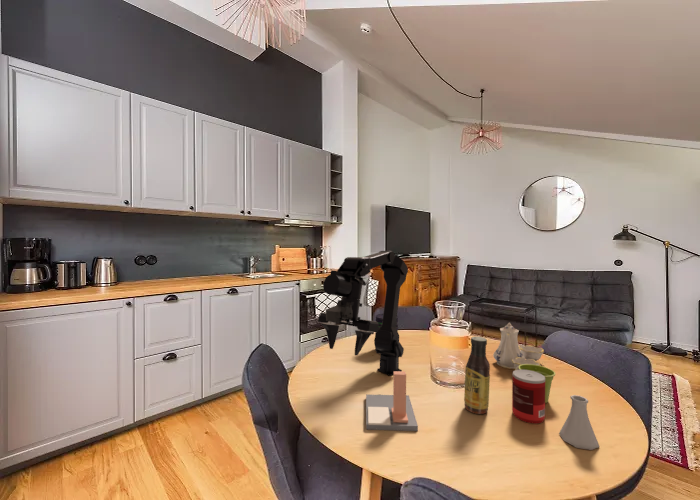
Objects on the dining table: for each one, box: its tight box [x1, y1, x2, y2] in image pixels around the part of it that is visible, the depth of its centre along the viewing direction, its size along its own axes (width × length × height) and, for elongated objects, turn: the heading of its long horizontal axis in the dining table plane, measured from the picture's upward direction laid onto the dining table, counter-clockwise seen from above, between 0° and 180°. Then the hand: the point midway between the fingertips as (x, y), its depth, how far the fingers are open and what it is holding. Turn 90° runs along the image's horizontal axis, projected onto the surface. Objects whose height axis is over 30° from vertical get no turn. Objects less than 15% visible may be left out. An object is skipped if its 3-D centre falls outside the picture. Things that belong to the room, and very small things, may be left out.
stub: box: [392, 370, 408, 423], centre depth 82 cm, size 6×4×11 cm, turn 177°
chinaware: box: [492, 322, 545, 371], centre depth 120 cm, size 28×17×17 cm, turn 150°
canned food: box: [511, 369, 546, 425], centre depth 85 cm, size 8×8×11 cm
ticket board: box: [365, 394, 419, 432], centre depth 86 cm, size 16×12×2 cm
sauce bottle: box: [463, 336, 491, 415], centre depth 88 cm, size 7×6×20 cm
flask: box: [558, 394, 600, 451], centre depth 74 cm, size 7×7×10 cm
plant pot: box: [518, 364, 556, 404], centre depth 95 cm, size 9×9×9 cm
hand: (343, 352), depth 93 cm, fingers open, 9 cm apart
